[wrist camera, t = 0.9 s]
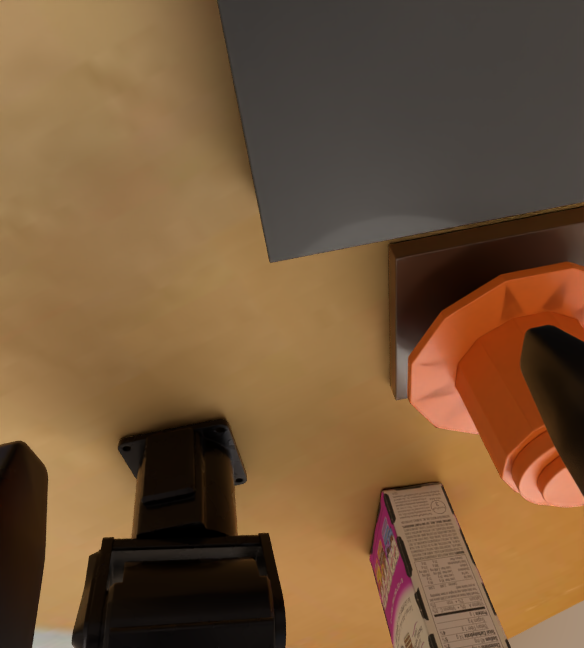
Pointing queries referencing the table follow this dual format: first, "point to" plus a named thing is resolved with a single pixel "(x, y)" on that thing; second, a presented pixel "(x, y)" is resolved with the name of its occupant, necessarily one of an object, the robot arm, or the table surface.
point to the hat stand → (467, 272)
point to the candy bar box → (429, 574)
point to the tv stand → (405, 114)
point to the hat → (500, 374)
